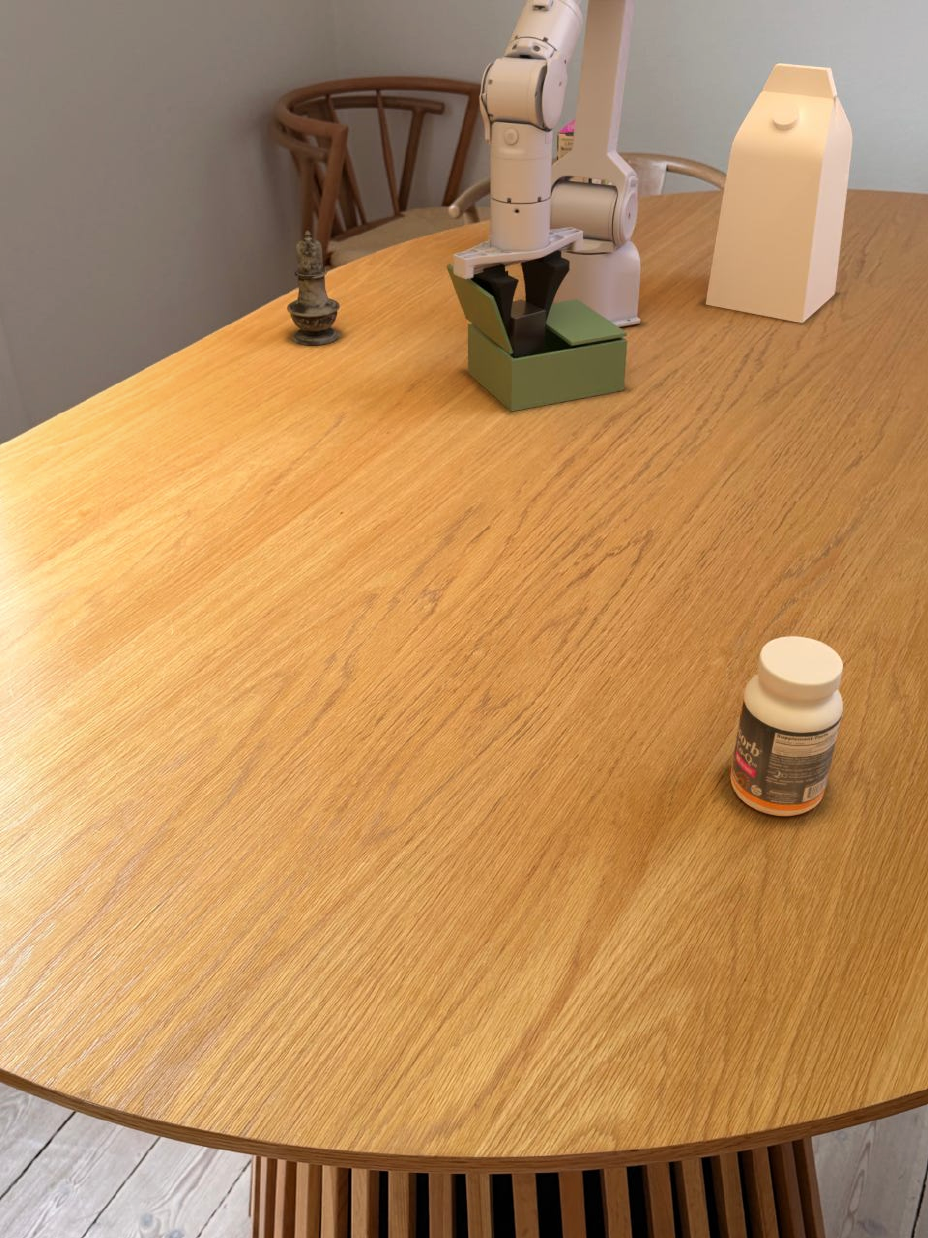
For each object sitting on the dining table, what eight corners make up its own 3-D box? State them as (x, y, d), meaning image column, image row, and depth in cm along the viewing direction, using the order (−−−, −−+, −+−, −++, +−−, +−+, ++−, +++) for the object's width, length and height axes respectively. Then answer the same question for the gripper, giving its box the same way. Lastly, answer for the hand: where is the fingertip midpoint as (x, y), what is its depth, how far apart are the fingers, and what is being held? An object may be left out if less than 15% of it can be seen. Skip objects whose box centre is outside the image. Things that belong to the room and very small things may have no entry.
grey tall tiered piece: (345, 328, 140) (339, 222, 133) (336, 347, 135) (329, 239, 128) (295, 326, 140) (286, 221, 134) (284, 345, 135) (274, 237, 129)
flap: (513, 352, 117) (509, 354, 117) (469, 316, 125) (465, 318, 125) (493, 296, 113) (490, 298, 113) (449, 263, 121) (445, 265, 121)
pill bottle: (718, 761, 77) (737, 632, 71) (807, 755, 77) (832, 627, 72) (743, 824, 72) (765, 691, 67) (837, 818, 73) (867, 685, 67)
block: (520, 336, 126) (521, 298, 123) (545, 348, 123) (546, 309, 121) (489, 345, 124) (490, 307, 121) (514, 357, 121) (514, 318, 119)
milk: (834, 293, 148) (873, 62, 133) (802, 323, 140) (840, 80, 125) (741, 277, 153) (769, 53, 139) (705, 304, 145) (730, 69, 131)
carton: (511, 411, 121) (512, 352, 117) (467, 372, 129) (467, 316, 125) (624, 390, 125) (628, 332, 121) (574, 353, 133) (577, 298, 129)
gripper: (552, 174, 121) (548, 307, 129) (433, 199, 114) (436, 337, 122) (599, 189, 116) (592, 326, 124) (478, 216, 109) (478, 359, 117)
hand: (518, 333), depth 123 cm, fingers closed on block, 4 cm apart
